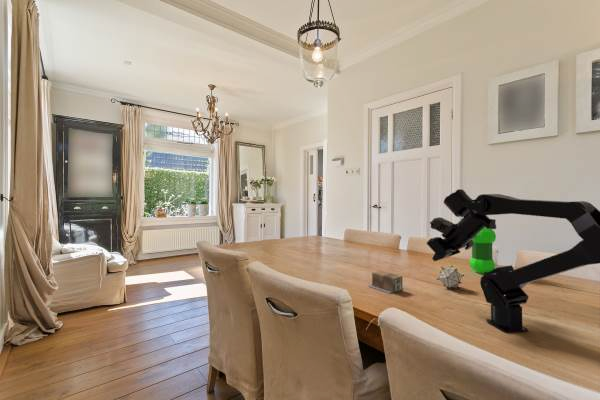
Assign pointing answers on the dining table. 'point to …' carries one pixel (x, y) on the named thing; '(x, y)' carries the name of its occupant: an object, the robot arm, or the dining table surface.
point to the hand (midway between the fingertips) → (433, 259)
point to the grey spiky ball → (450, 277)
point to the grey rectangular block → (387, 281)
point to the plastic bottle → (483, 251)
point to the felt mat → (380, 289)
